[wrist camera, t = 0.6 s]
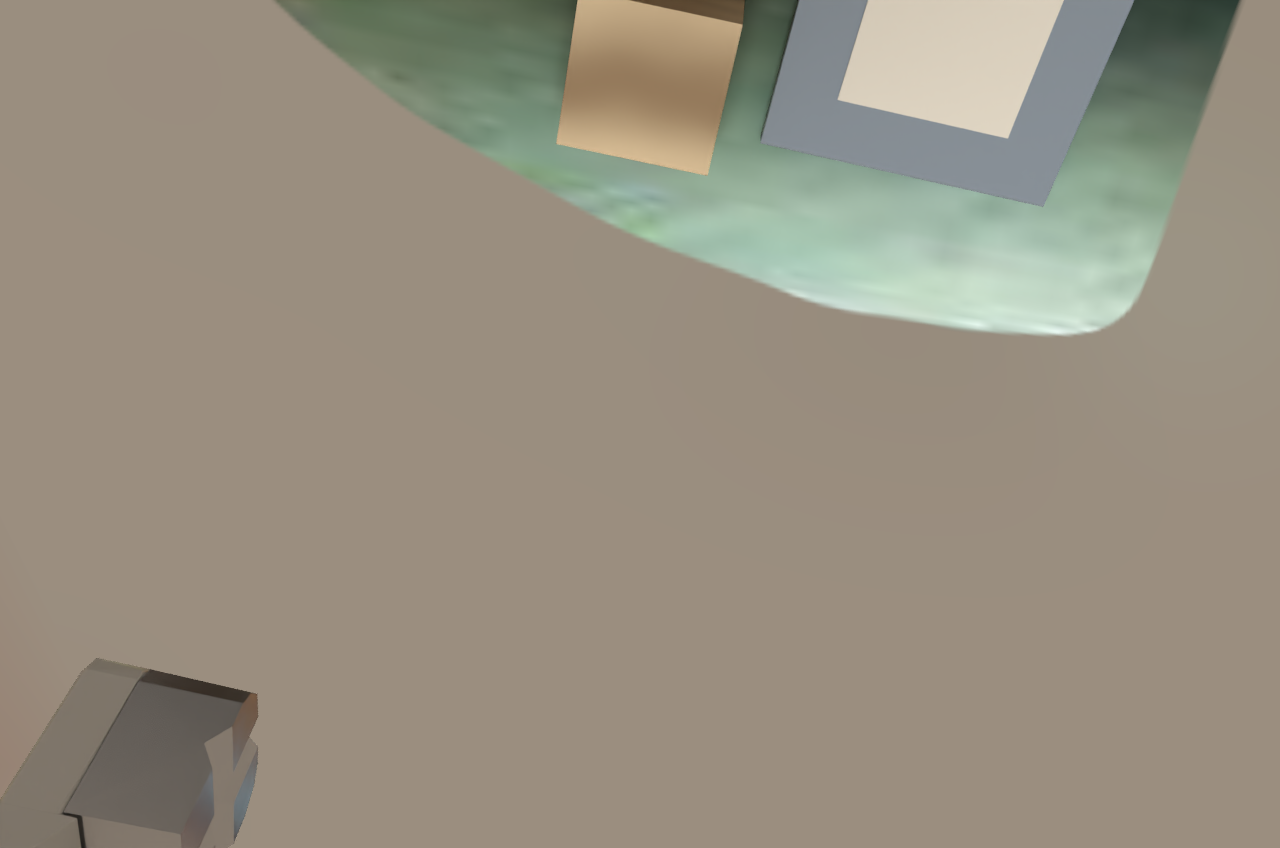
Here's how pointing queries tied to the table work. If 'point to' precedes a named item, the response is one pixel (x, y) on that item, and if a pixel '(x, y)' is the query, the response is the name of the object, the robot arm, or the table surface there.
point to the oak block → (650, 79)
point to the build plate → (944, 87)
